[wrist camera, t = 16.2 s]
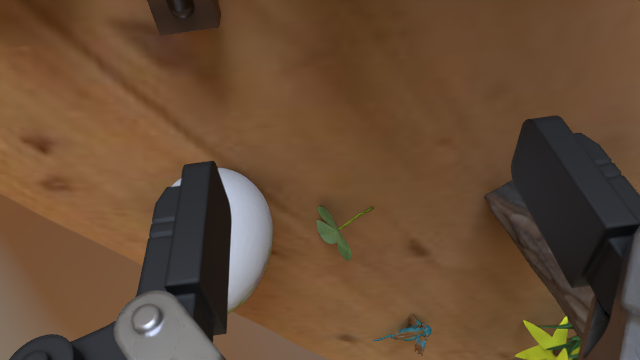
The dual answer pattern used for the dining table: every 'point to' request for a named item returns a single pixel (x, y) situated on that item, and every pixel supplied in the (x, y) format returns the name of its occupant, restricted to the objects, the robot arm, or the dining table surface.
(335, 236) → the seedling
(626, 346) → the robot arm
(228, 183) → the decorative egg
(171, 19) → the scrub brush
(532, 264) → the owl
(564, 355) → the daffodil flowers
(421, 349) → the dragon figurine
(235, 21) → the dining table surface
